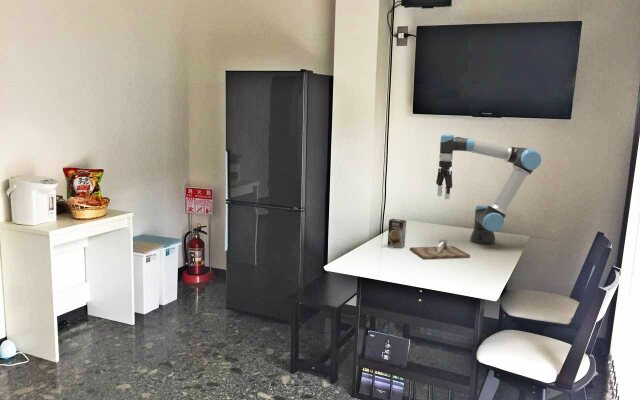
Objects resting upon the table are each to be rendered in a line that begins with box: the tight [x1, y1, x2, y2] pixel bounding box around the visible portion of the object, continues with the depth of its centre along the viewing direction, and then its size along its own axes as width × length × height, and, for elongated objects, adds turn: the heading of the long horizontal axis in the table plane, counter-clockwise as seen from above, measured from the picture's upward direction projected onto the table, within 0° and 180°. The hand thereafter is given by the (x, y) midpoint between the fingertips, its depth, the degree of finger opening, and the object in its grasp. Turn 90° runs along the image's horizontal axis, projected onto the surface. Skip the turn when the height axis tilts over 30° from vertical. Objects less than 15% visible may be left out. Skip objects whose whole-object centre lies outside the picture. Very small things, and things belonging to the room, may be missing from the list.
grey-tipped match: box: [437, 239, 448, 253], centre depth 311 cm, size 15×4×4 cm, turn 157°
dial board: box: [409, 245, 471, 260], centre depth 309 cm, size 28×20×2 cm
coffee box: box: [387, 218, 407, 249], centre depth 322 cm, size 9×6×16 cm
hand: (443, 197), depth 324 cm, fingers open, 9 cm apart
